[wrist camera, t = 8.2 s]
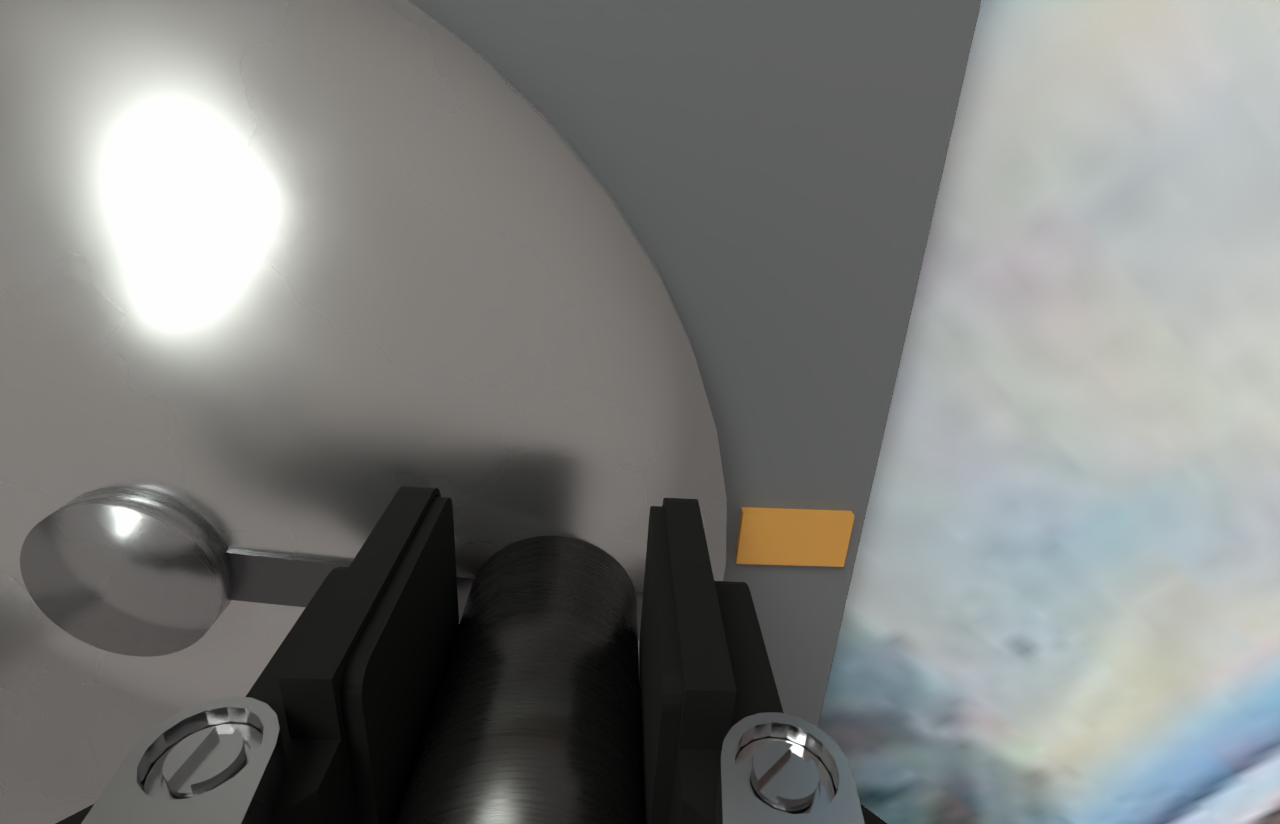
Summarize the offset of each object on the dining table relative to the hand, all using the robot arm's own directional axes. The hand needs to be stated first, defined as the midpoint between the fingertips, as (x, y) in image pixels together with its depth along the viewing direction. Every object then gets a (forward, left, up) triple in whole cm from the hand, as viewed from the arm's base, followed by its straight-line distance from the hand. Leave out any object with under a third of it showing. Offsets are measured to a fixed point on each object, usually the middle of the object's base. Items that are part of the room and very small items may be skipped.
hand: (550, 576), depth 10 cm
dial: (+1, -7, -2) cm, 7 cm away
